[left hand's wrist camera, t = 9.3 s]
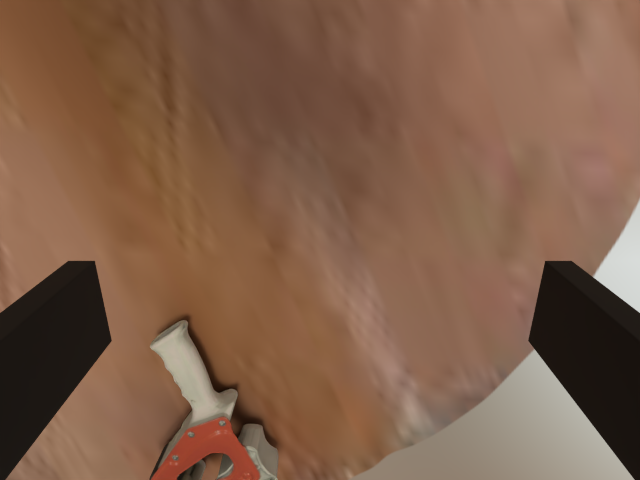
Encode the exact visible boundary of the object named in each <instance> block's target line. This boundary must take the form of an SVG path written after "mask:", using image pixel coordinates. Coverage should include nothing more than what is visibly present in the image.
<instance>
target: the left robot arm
mask: <svg viewBox="0 0 640 480" xmlns="http://www.w3.org/2000/svg"><path fill="white" fill-rule="evenodd" d="M111 341H112V340H111V335H110V331H109V326H108V321H107V317H106V312H105V307H104V302H103V298H102V293H101V288H100V284H99V279H98V274H97V270H96V265H95V261H68V262H66V263H65V264H64V265H63V266H61V267H60V268H59V269H57V270H56V271H55V272H53V273H52V274H51V275H49V276H48V277H47V278H46V279H44V280H43V281H42V282H40V283H39V284H38V285H36V286H35V287H34V288H32V289H31V290H30V291H29V292H27V293H26V294H25V295H23V296H22V297H21V298H19V299H18V300H17V301H15V302H14V303H13V304H12V305H10V306H9V307H8V308H6V309H5V310H4V311H2V312H1V313H0V480H5V479H6V478H7V477H8V475H9V474H10V473H11V472H12V470H13V469H14V468H15V466H16V465H17V464H18V462H19V461H20V460H21V458H22V457H23V456H24V455H25V453H26V452H27V451H28V449H29V448H30V447H31V445H32V444H33V443H34V442H35V440H36V439H37V438H38V436H39V435H40V434H41V432H42V431H43V430H44V428H45V427H46V426H47V425H48V423H49V422H50V421H51V419H52V418H53V417H54V415H55V414H56V413H57V411H58V410H59V409H60V408H61V406H62V405H63V404H64V402H65V401H66V400H67V398H68V397H69V396H70V394H71V393H72V392H73V391H74V389H75V388H76V387H77V385H78V384H79V383H80V381H81V380H82V379H83V378H84V376H85V375H86V374H87V372H88V371H89V370H90V368H91V367H92V366H93V364H94V363H95V362H96V361H97V359H98V358H99V357H100V355H101V354H102V353H103V351H104V350H105V349H106V347H107V346H108V345H109V344H110V342H111ZM528 341H529V342H530V344H531V345H532V346H533V347H534V349H535V350H536V351H537V353H538V354H539V355H540V357H541V358H542V359H543V360H544V362H545V363H546V364H547V366H548V367H549V368H550V370H551V371H552V372H553V374H554V375H555V376H556V378H557V379H558V380H559V381H560V383H561V384H562V385H563V387H564V388H565V389H566V391H567V392H568V393H569V394H570V396H571V397H572V398H573V400H574V401H575V402H576V404H577V405H578V406H579V408H580V409H581V410H582V411H583V413H584V414H585V415H586V417H587V418H588V419H589V421H590V422H591V423H592V425H593V426H594V427H595V428H596V430H597V431H598V432H599V434H600V435H601V436H602V438H603V439H604V440H605V442H606V443H607V444H608V445H609V447H610V448H611V449H612V451H613V452H614V453H615V455H616V456H617V457H618V458H619V460H620V461H621V462H622V464H623V465H624V466H625V468H626V469H627V470H628V472H629V473H630V474H631V475H632V477H633V478H634V479H635V480H640V313H639V312H638V311H636V310H635V309H634V308H632V307H631V306H630V305H628V304H627V303H626V302H625V301H623V300H622V299H621V298H619V297H618V296H617V295H615V294H614V293H613V292H611V291H610V290H609V289H608V288H606V287H605V286H604V285H602V284H601V283H600V282H598V281H597V280H596V279H594V278H593V277H592V276H591V275H589V274H588V273H587V272H585V271H584V270H583V269H581V268H580V267H579V266H577V265H576V264H575V263H574V262H572V261H545V265H544V270H543V274H542V279H541V284H540V288H539V293H538V298H537V302H536V307H535V312H534V317H533V321H532V326H531V331H530V335H529V340H528Z"/></svg>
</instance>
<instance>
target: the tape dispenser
mask: <svg viewBox="0 0 640 480" xmlns="http://www.w3.org/2000/svg"><path fill="white" fill-rule="evenodd" d="M187 327H188V322H187V321H186V320H182V321H179V322H177V323H176V324H174V325H173V326H171V327H169V328H168V329H166V330H165V331H163V332H162V333H161V334H159V335H158V336H157V337H156V338H155V339H154V340H153V341H152V343H151V345H150V348H151V349H152V350H154V351H155V352H156V353H158V354H159V355H160V357H161V358H162V359H163V361H164V364H165V367H166V369H167V370H168V371H170V372H171V374H172V375H173V378H174V382H175V383H176V384H177V385H178V386H179V387H180V389H181V391H182V395H183V396H184V397H185V398H186V399H187V400H188V401H189V403H190V405H191V407H192V411H191V412H190V414H189V415H188V416H187V418H186V419H185V420H184V422H183V424H182V426H181V429H180V430H179V431H178V432H177V433H176V435H175V436H174V438H173V439H172V441H170V442H169V443H168V444H167V445H166V446H165V447H164V449H163V451H162V453H161V455H160V457H159V459H158V461H157V463H156V466H155V468H154V470H153V472H152V474H151V476H150V480H201V478H202V475H203V473H204V470H205V467H206V464H205V462H204V461H203V460H202V458H204V457H205V456H207V455H208V454H211V453H223V457H222V462H221V466H220V471H219V474H218V477H217V479H216V480H277V469H278V451H277V449H276V448H274V447H272V446H271V445H270V444H269V443H268V442H267V441H266V439H265V436H264V432H263V427H262V426H261V425H258V424H245V425H243V427H242V430H241V433H240V435H239V437H238V439H237V437H236V436H235V434H234V433H233V430H232V426H231V423H230V419H231V416H232V413H233V409H234V406H235V403H236V399H237V396H238V392H237V391H236V390H235V389H228V390H225V391H223V392H220V393H217V392H216V391H215V390H214V389H213V387H212V384H211V381H210V378H209V375H208V373H207V370H206V368H205V365H204V363H203V361H202V359H201V357H200V355H199V353H198V351H197V348H196V347H195V345H194V343H193V342H192V340H191V338H190V336H189V334H188V330H187Z"/></svg>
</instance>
